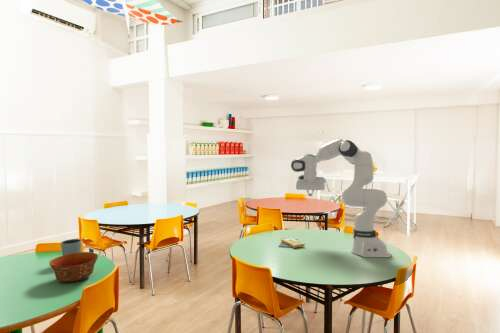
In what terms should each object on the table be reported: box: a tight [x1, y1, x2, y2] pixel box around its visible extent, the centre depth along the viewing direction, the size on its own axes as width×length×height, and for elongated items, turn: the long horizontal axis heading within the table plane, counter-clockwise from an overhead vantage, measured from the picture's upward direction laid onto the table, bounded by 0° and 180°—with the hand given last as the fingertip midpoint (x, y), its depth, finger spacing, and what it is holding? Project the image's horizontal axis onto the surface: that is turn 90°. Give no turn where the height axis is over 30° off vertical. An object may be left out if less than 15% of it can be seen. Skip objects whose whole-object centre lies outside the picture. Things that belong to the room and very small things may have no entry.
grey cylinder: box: [60, 238, 82, 256], centre depth 183 cm, size 10×10×12 cm
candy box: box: [280, 237, 306, 249], centre depth 217 cm, size 16×2×8 cm
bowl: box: [48, 251, 99, 283], centre depth 159 cm, size 21×21×10 cm
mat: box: [278, 238, 298, 249], centre depth 221 cm, size 10×20×1 cm, turn 166°
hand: (310, 196), depth 234 cm, fingers closed
